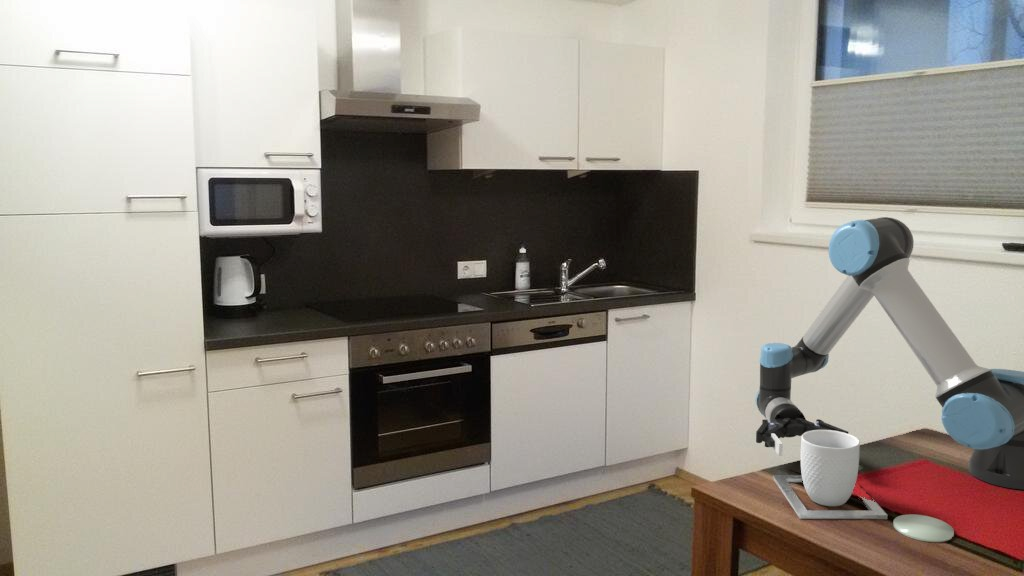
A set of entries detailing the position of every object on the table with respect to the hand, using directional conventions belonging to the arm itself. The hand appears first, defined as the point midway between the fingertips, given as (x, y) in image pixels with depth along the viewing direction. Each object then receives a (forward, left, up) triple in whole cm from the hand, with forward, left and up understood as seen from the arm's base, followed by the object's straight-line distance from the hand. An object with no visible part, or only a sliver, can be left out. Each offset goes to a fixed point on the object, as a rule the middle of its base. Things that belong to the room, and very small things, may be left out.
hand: (812, 449), depth 169 cm
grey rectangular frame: (0, +9, -7) cm, 11 cm away
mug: (0, +9, -7) cm, 12 cm away
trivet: (-13, +23, -7) cm, 28 cm away
